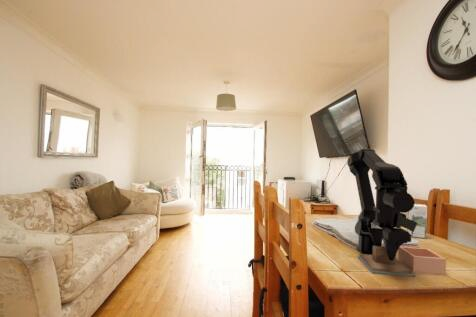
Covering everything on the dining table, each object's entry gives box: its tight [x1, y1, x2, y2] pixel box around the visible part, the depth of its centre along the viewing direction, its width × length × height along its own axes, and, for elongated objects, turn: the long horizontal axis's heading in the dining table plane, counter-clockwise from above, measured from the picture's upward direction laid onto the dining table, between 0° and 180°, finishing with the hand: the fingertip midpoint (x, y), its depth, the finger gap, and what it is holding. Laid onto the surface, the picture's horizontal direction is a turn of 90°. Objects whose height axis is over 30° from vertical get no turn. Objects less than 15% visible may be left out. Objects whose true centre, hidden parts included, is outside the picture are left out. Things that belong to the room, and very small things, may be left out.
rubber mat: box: [357, 255, 416, 278], centre depth 80 cm, size 12×12×1 cm
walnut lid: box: [358, 245, 412, 274], centre depth 80 cm, size 11×11×5 cm
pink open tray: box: [397, 246, 447, 276], centre depth 80 cm, size 9×9×5 cm
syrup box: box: [406, 203, 428, 239], centre depth 114 cm, size 6×6×14 cm
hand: (384, 254), depth 80 cm, fingers open, 8 cm apart
